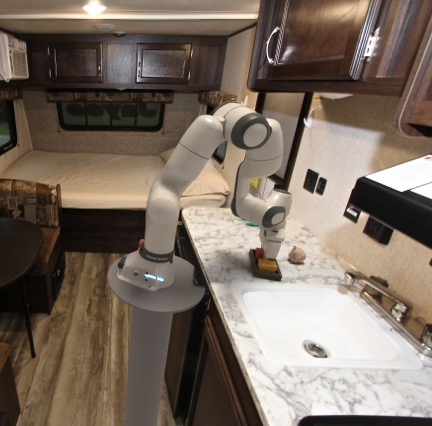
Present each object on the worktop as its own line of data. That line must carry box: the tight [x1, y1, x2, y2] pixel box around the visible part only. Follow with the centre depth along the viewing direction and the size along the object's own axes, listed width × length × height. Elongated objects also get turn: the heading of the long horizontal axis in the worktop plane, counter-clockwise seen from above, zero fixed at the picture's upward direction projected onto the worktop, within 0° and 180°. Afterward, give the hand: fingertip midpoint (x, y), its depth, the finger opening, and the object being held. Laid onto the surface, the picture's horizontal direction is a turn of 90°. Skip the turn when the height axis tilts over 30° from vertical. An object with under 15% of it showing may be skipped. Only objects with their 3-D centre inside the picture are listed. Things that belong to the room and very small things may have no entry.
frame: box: [248, 248, 283, 282], centre depth 121 cm, size 10×18×3 cm, turn 163°
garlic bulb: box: [288, 245, 307, 263], centre depth 124 cm, size 7×6×8 cm
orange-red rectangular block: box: [255, 247, 273, 261], centre depth 124 cm, size 6×4×4 cm
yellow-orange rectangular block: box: [257, 259, 277, 273], centre depth 117 cm, size 6×4×4 cm
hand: (263, 256), depth 124 cm, fingers closed on orange-red rectangular block, 4 cm apart
